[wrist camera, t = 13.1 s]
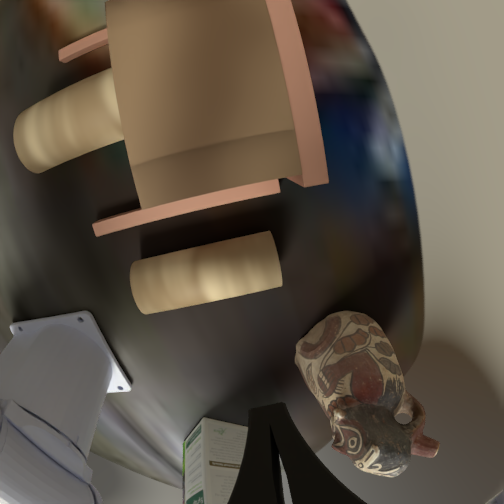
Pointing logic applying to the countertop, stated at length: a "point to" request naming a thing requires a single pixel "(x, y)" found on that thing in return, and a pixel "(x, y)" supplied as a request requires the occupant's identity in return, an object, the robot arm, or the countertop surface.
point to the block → (199, 96)
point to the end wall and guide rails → (301, 113)
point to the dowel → (69, 123)
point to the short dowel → (206, 273)
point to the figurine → (363, 393)
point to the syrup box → (212, 461)
